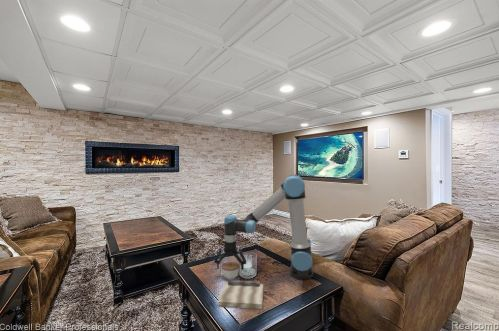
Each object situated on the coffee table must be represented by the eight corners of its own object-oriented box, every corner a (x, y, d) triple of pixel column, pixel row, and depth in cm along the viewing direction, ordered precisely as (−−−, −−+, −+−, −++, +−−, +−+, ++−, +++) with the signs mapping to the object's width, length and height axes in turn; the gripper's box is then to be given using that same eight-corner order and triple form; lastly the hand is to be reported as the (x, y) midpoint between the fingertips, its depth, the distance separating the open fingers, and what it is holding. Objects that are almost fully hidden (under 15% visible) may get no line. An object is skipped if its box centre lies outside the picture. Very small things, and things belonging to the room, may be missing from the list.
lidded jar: (236, 282, 135) (236, 267, 135) (219, 280, 137) (219, 265, 137) (240, 274, 145) (240, 259, 145) (225, 272, 147) (224, 258, 147)
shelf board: (263, 288, 128) (263, 280, 128) (261, 309, 110) (261, 299, 110) (225, 286, 130) (225, 279, 130) (218, 306, 112) (218, 297, 112)
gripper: (250, 239, 143) (250, 272, 144) (212, 237, 146) (212, 270, 146) (249, 243, 136) (249, 278, 136) (209, 242, 138) (209, 276, 139)
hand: (230, 274), depth 141 cm, fingers open, 13 cm apart
